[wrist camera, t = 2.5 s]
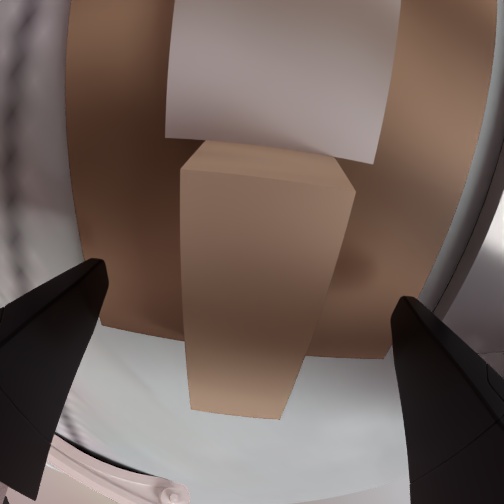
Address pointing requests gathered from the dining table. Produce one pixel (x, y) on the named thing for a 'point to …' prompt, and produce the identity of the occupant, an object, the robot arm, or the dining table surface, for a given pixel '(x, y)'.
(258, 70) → the two-tone block
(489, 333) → the slate rest
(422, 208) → the walnut board
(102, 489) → the wall bracket
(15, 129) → the dining table surface
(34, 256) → the dining table surface
